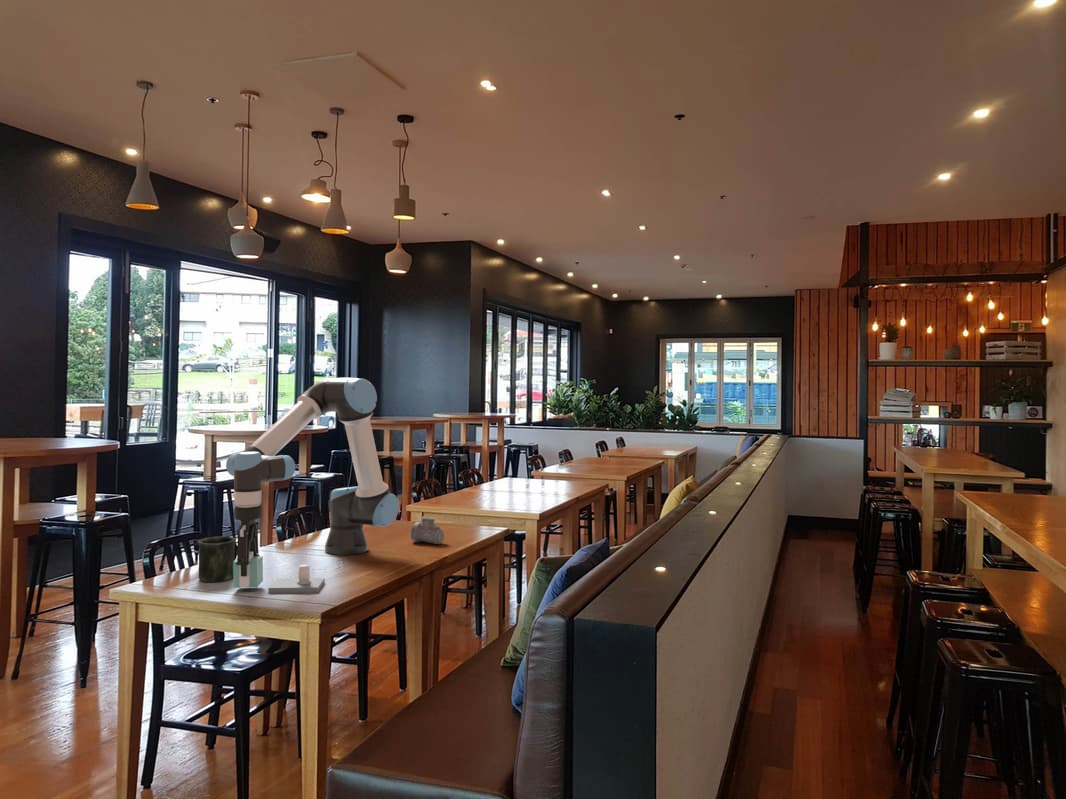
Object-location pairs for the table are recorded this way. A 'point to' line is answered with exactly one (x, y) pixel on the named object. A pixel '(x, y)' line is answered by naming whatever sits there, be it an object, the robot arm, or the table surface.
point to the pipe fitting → (427, 531)
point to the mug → (216, 558)
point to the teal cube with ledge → (255, 571)
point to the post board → (298, 583)
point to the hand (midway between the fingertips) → (248, 583)
